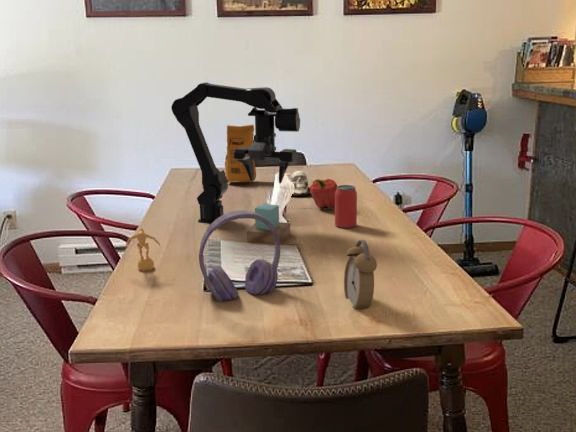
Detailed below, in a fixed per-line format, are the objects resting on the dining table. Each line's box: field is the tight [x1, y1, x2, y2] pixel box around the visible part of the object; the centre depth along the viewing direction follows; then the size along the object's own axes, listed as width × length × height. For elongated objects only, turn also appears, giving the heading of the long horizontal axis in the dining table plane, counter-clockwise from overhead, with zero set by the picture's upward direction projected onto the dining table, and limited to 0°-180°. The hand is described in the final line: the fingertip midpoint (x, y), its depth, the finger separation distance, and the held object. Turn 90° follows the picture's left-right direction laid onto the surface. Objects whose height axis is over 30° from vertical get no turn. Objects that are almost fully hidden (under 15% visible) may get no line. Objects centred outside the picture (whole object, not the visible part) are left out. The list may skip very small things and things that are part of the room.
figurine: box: [125, 227, 161, 272], centre depth 155 cm, size 8×6×12 cm
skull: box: [289, 170, 311, 196], centre depth 233 cm, size 12×10×10 cm
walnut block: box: [246, 221, 291, 245], centre depth 181 cm, size 10×10×4 cm
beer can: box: [334, 184, 358, 229], centre depth 191 cm, size 7×7×12 cm
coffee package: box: [224, 124, 257, 183], centre depth 252 cm, size 10×12×22 cm
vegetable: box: [309, 178, 339, 209], centre depth 213 cm, size 11×10×10 cm
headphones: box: [198, 209, 281, 303], centre depth 139 cm, size 18×8×20 cm, turn 114°
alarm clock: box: [343, 239, 378, 310], centre depth 134 cm, size 11×5×15 cm, turn 11°
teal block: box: [254, 203, 280, 231], centre depth 180 cm, size 5×5×6 cm
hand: (266, 182), depth 193 cm, fingers open, 9 cm apart
